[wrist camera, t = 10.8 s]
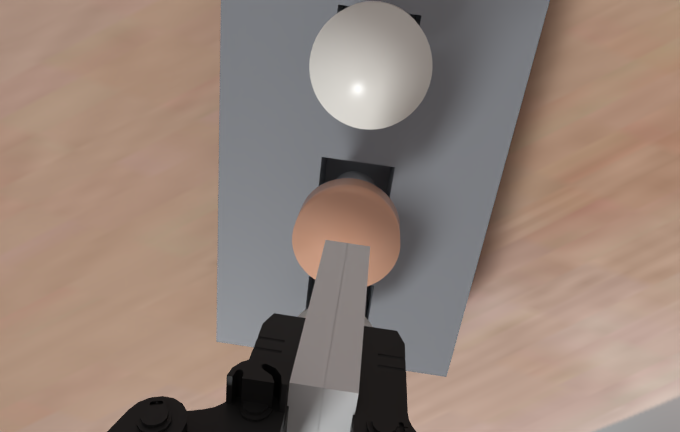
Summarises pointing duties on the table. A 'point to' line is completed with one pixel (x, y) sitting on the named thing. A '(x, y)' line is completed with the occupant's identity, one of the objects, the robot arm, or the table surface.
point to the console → (366, 162)
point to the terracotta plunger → (348, 223)
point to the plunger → (370, 65)
